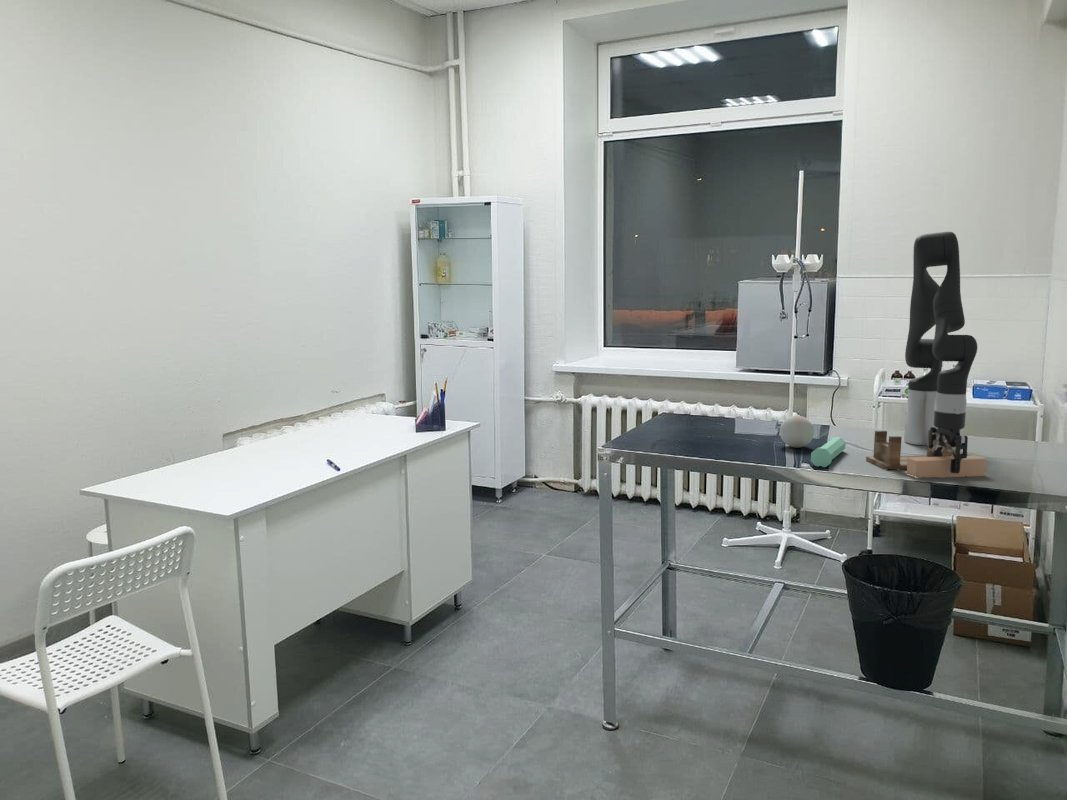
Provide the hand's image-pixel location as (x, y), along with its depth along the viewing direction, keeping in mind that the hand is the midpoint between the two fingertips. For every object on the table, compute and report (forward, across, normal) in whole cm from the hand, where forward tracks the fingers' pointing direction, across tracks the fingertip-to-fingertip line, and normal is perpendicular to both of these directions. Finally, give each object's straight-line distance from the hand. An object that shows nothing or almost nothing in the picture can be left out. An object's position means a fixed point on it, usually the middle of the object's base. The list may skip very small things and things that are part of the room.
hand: (945, 469), depth 225 cm
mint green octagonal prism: (+2, -23, -22) cm, 32 cm away
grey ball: (+2, -39, -26) cm, 47 cm away
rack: (+2, -13, -2) cm, 13 cm away
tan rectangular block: (+2, 0, 0) cm, 2 cm away
